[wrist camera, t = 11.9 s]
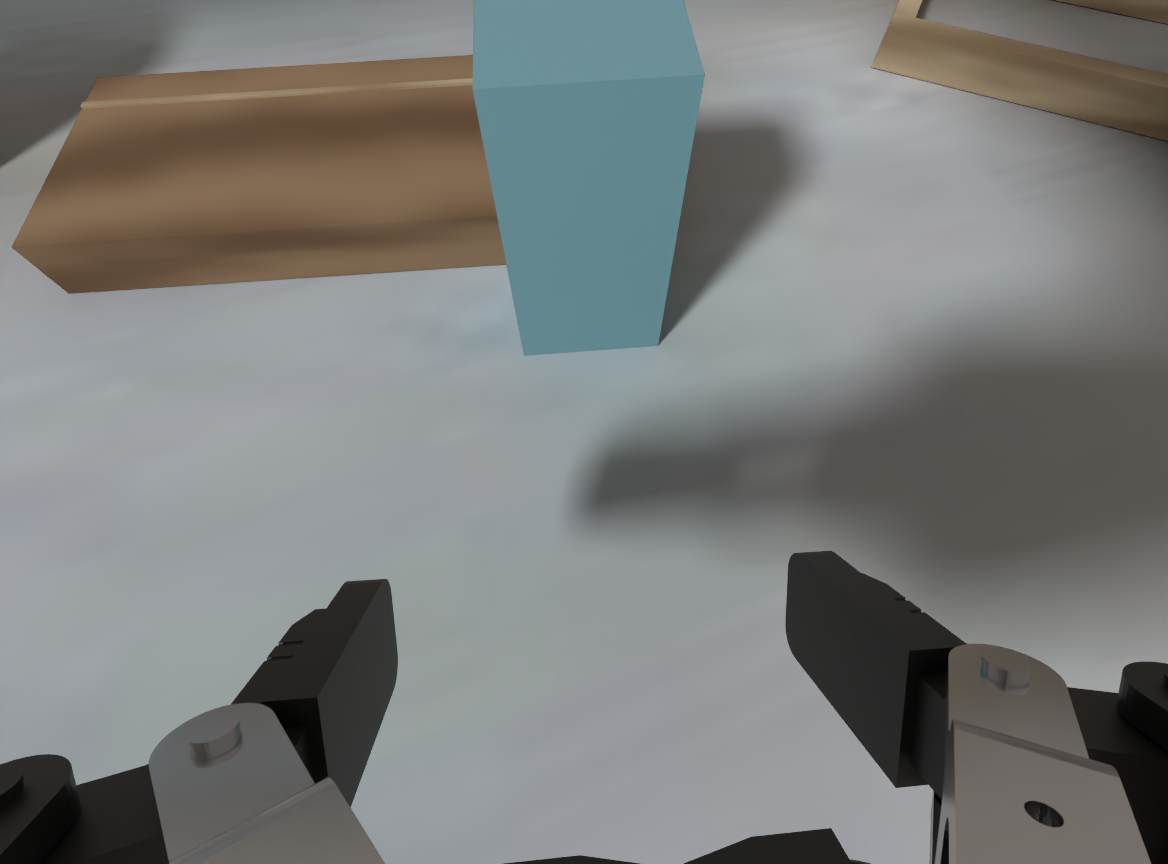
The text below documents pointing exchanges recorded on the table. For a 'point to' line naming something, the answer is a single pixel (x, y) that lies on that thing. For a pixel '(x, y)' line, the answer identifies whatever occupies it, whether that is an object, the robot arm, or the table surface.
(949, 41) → the tube rack
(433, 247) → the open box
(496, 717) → the table surface
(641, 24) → the teal ice pop
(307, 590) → the table surface
